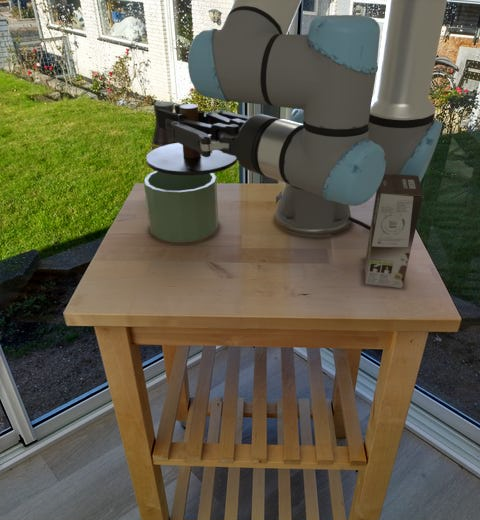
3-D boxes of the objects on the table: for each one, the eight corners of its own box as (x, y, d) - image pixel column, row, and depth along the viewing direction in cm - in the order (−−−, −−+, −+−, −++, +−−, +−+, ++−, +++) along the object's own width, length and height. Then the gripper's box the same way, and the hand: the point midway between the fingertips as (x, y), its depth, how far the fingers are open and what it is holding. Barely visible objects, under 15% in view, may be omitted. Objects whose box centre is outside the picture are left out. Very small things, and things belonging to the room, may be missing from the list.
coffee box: (403, 289, 82) (424, 196, 72) (364, 284, 83) (379, 193, 73) (401, 262, 89) (419, 174, 80) (364, 258, 90) (378, 171, 81)
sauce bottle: (150, 194, 115) (139, 104, 103) (168, 186, 119) (159, 98, 107) (171, 201, 112) (163, 108, 100) (189, 192, 116) (182, 102, 104)
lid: (242, 149, 86) (241, 95, 81) (232, 180, 74) (231, 120, 69) (158, 147, 87) (152, 94, 82) (136, 178, 75) (127, 118, 70)
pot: (221, 215, 106) (220, 167, 99) (212, 245, 95) (209, 193, 88) (159, 213, 107) (154, 165, 100) (142, 242, 96) (135, 190, 90)
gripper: (231, 191, 64) (130, 150, 78) (310, 162, 73) (207, 129, 87) (229, 131, 60) (123, 99, 73) (314, 108, 68) (204, 83, 82)
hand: (168, 116), depth 80 cm, fingers closed on lid, 3 cm apart
